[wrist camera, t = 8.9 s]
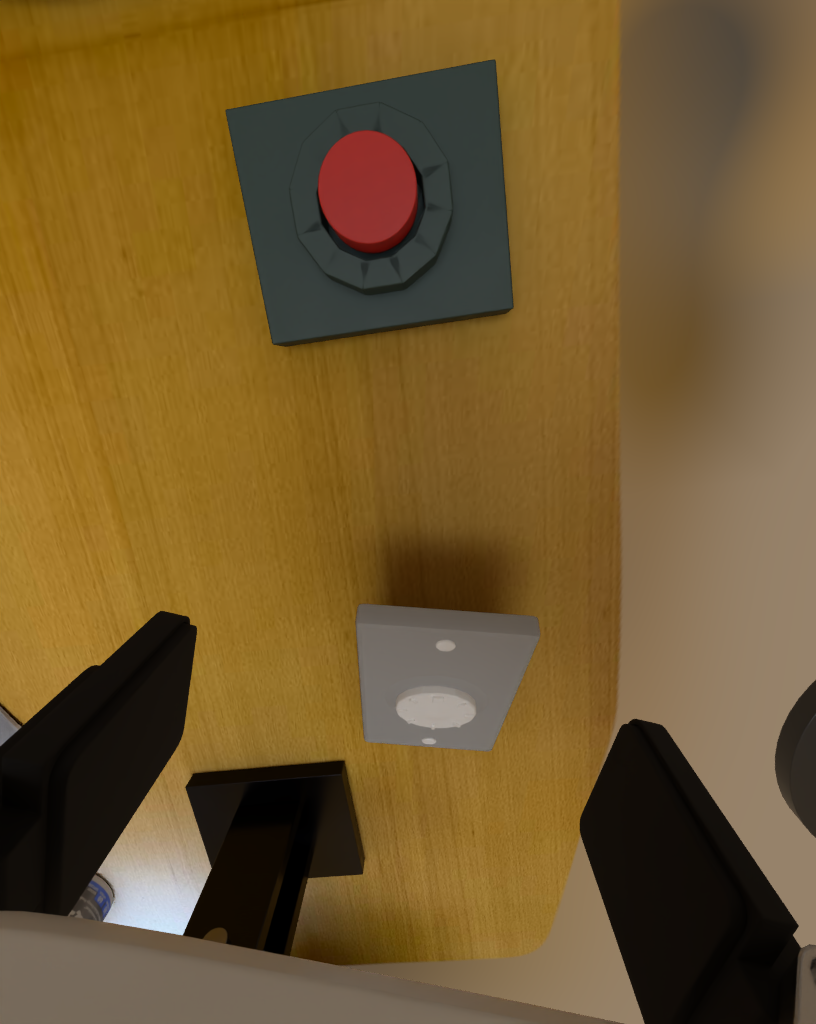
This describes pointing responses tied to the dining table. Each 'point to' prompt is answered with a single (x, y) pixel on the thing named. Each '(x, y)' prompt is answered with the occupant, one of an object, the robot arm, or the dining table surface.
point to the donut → (7, 726)
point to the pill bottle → (94, 901)
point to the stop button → (368, 191)
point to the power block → (438, 223)
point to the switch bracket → (269, 848)
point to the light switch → (439, 673)
